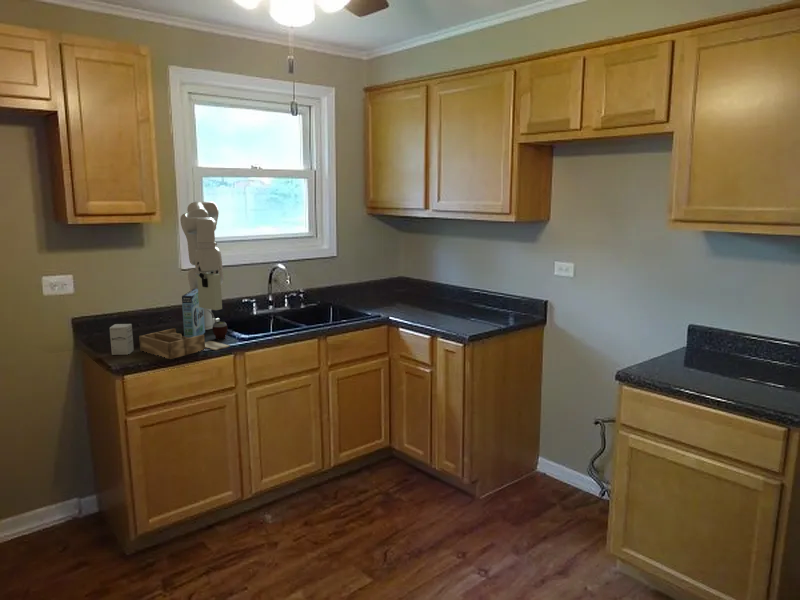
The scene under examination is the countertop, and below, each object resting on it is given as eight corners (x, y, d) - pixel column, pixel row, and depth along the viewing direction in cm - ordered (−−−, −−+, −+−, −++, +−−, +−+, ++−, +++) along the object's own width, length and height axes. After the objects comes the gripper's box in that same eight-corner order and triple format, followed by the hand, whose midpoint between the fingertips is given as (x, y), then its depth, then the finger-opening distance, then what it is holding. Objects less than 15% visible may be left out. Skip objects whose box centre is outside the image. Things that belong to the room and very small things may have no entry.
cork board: (210, 342, 282) (210, 340, 281) (229, 346, 274) (229, 345, 274) (196, 345, 275) (196, 344, 275) (215, 350, 267) (215, 349, 267)
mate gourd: (231, 337, 289) (229, 308, 286) (219, 341, 283) (217, 311, 280) (220, 336, 293) (218, 306, 290) (207, 339, 286) (205, 309, 283)
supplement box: (111, 355, 260) (108, 327, 257) (117, 350, 267) (114, 323, 265) (128, 354, 260) (126, 327, 258) (134, 350, 268) (132, 323, 265)
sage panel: (205, 305, 276) (203, 272, 273) (222, 308, 269) (220, 274, 266) (199, 307, 273) (196, 272, 270) (215, 310, 266) (213, 275, 263)
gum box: (195, 333, 299) (192, 288, 295) (206, 332, 299) (203, 288, 295) (184, 343, 280) (180, 295, 276) (195, 342, 280) (191, 295, 276)
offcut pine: (172, 338, 276) (172, 332, 275) (182, 340, 273) (181, 333, 272) (165, 340, 272) (164, 334, 271) (174, 342, 269) (174, 336, 268)
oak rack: (175, 342, 281) (174, 328, 280) (205, 349, 268) (204, 334, 267) (140, 351, 266) (139, 336, 265) (170, 359, 254) (168, 343, 253)
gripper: (216, 244, 274) (218, 283, 278) (185, 247, 261) (188, 288, 264) (226, 245, 270) (229, 284, 274) (196, 248, 257) (198, 289, 260)
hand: (209, 285), depth 269 cm, fingers closed on sage panel, 3 cm apart
